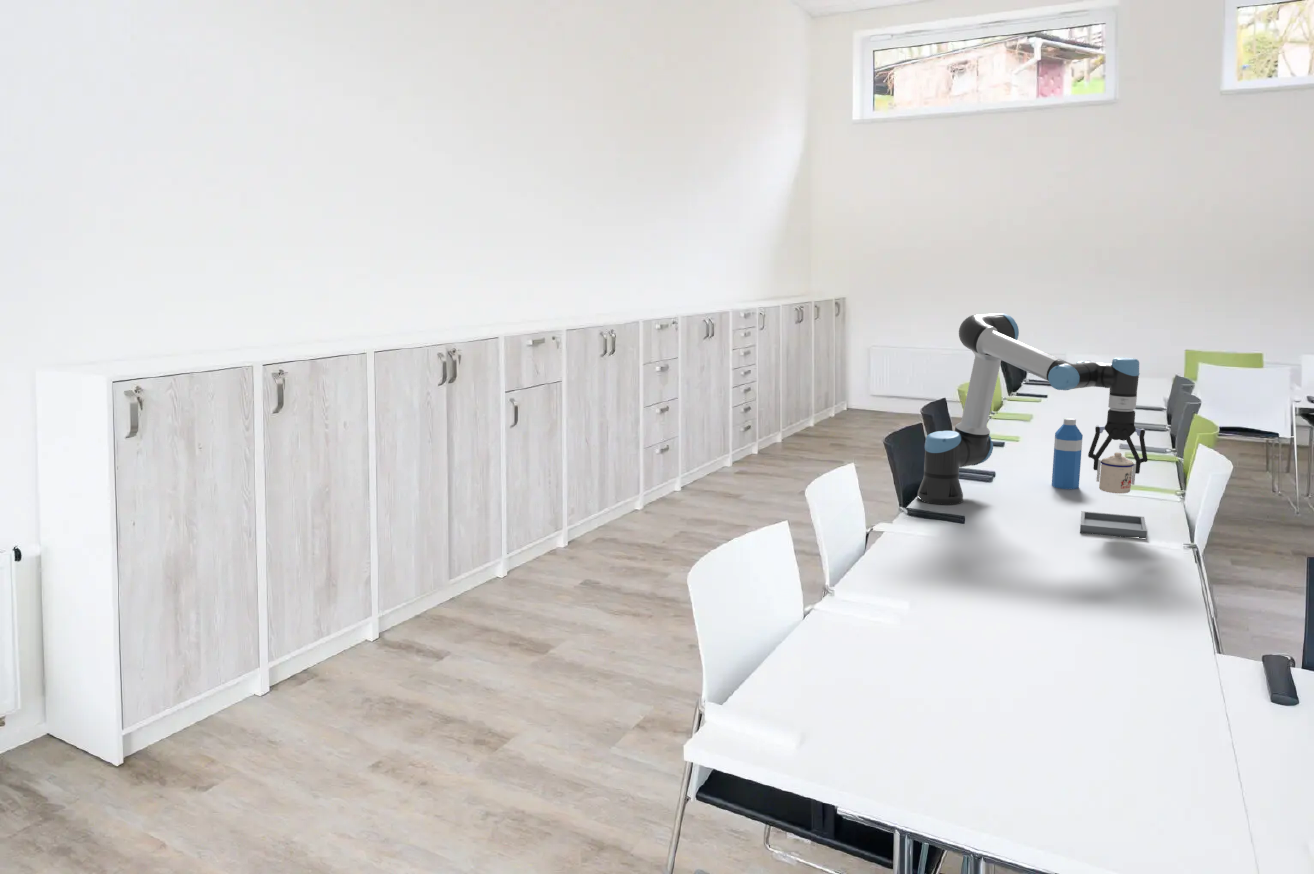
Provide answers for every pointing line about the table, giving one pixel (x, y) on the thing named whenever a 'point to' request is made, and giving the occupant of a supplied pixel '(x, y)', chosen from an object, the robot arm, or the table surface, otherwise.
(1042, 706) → the table surface
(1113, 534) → the tray
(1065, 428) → the water bottle
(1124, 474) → the teacup with lid
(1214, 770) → the table surface
